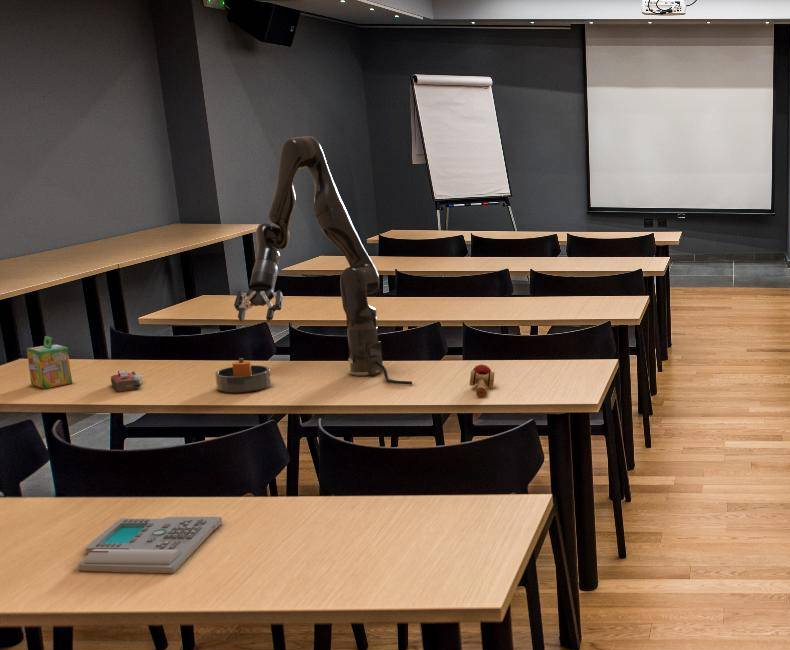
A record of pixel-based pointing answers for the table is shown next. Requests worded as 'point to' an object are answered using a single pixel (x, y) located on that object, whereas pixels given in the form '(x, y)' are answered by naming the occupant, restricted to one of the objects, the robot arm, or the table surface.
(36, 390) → the table surface
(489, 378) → the kendama
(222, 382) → the bowl
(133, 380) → the grey and red device
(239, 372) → the squash
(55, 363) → the chalk box
